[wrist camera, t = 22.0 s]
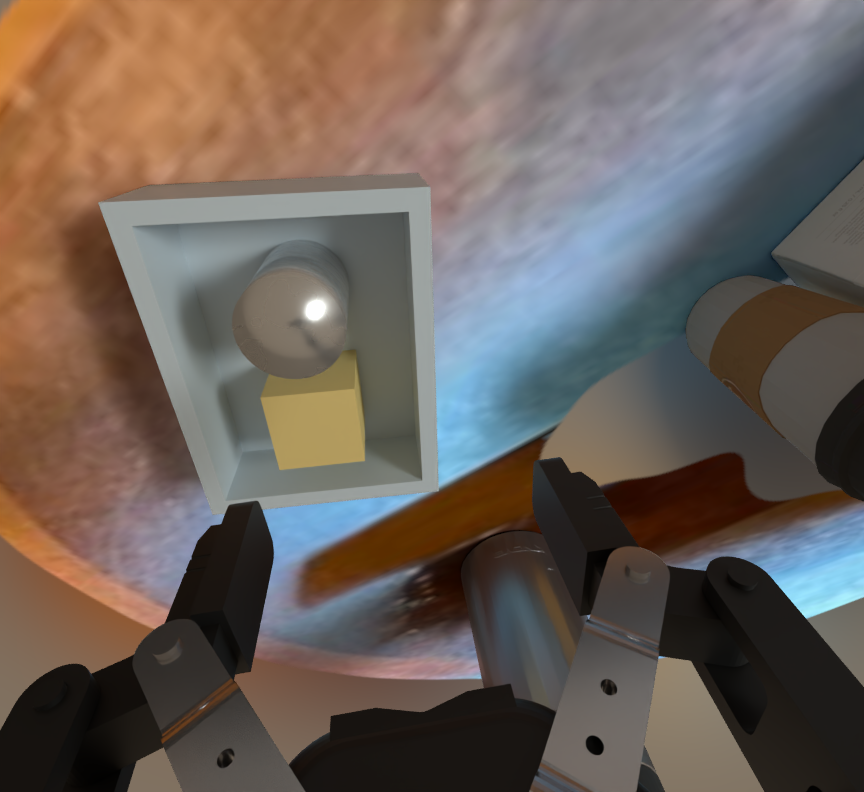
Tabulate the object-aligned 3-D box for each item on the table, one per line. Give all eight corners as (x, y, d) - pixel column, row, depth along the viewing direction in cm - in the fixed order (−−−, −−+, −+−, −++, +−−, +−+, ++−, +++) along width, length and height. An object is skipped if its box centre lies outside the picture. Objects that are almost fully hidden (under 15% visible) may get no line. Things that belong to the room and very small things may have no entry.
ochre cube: (355, 349, 30) (354, 388, 26) (364, 415, 33) (364, 460, 28) (275, 356, 30) (260, 397, 25) (290, 422, 32) (279, 470, 28)
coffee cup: (643, 339, 33) (819, 484, 20) (735, 232, 30) (1014, 324, 17) (718, 388, 36) (912, 541, 23) (809, 296, 33) (1093, 414, 20)
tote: (428, 440, 35) (438, 491, 30) (233, 458, 34) (212, 514, 29) (418, 172, 26) (430, 186, 21) (148, 185, 25) (98, 202, 20)
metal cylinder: (344, 236, 26) (339, 272, 21) (353, 321, 29) (351, 374, 23) (251, 241, 26) (219, 280, 20) (270, 326, 29) (246, 383, 23)
